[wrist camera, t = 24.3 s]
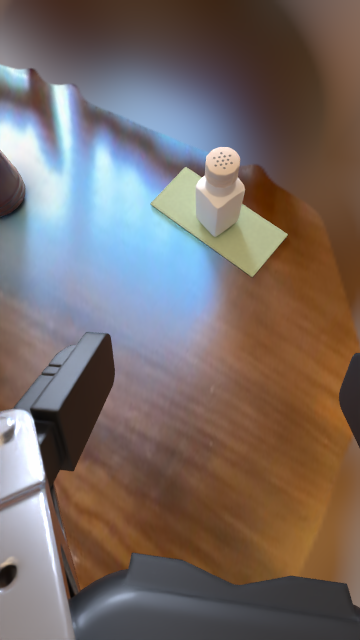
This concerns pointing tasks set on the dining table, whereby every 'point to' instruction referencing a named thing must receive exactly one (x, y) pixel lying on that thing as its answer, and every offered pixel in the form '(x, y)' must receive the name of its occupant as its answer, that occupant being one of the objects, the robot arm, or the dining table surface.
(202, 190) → the salt shaker
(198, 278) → the dining table surface
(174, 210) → the edge strip
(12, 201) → the mug
